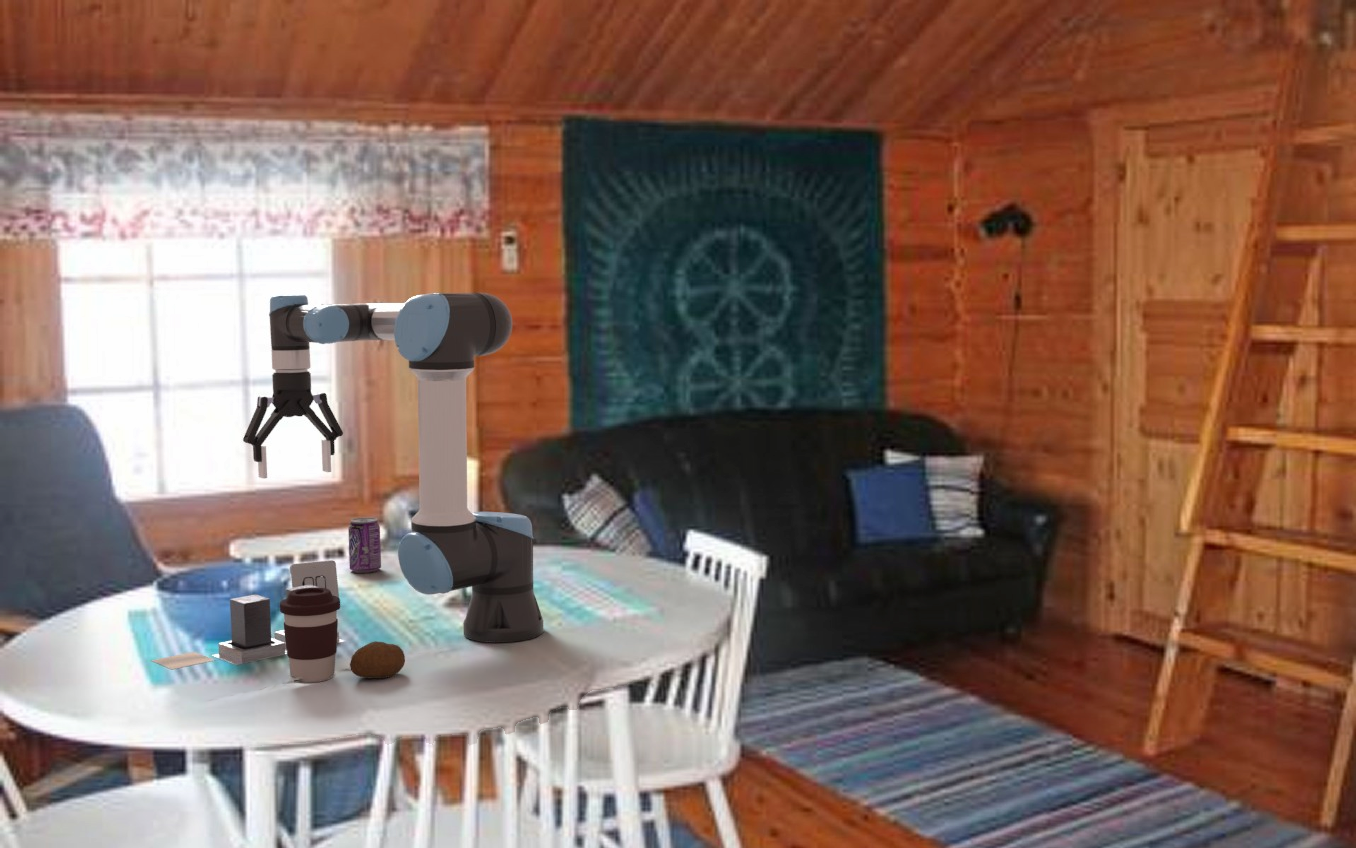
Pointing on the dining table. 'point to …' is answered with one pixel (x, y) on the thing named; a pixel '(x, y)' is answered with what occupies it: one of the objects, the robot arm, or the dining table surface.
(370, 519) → the beverage can
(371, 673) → the potato
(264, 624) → the block
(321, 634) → the coffee cup
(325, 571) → the electrical switch
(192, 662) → the walnut pad
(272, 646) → the white recessed tray
